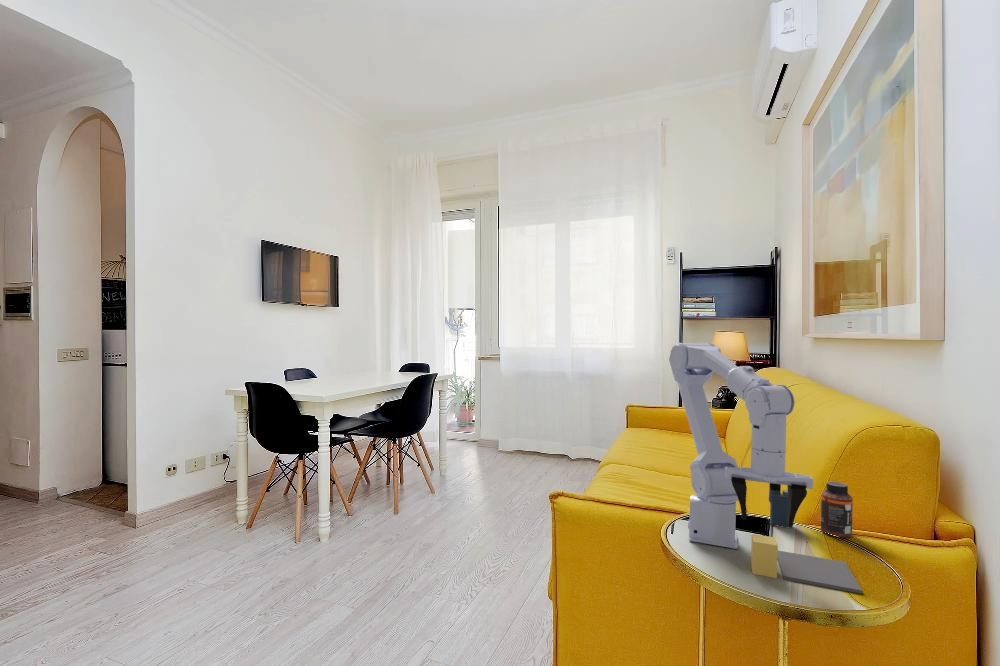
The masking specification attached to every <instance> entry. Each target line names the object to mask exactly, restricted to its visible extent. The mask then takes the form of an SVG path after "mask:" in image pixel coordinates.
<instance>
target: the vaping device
mask: <svg viewBox="0 0 1000 666" xmlns="http://www.w3.org/2000/svg"><path fill="white" fill-rule="evenodd" d="M768 484H769V490H768V502H769V503H770V505H769V512H770V513H769V523H770V522H771V524H772V525H771V524H770V525H771V526H774V525H778V526H777V527H780V526H783V527H782V528H786V527H792V528H793V526H788V524H787V508H788V489H783V490H781V487H782V484H773V483H768ZM781 491H782V493H781ZM794 522H795V521H794ZM794 522H793V525H794V524H795V523H794Z"/></svg>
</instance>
